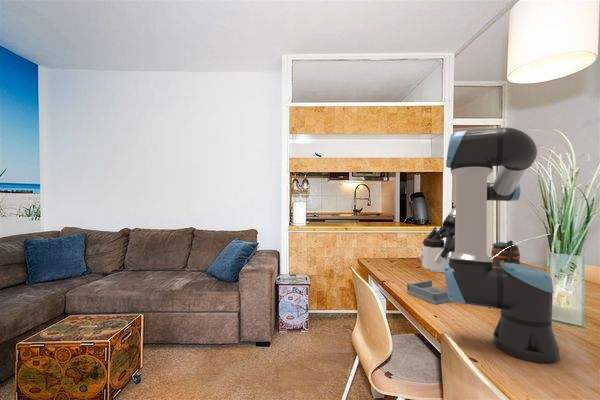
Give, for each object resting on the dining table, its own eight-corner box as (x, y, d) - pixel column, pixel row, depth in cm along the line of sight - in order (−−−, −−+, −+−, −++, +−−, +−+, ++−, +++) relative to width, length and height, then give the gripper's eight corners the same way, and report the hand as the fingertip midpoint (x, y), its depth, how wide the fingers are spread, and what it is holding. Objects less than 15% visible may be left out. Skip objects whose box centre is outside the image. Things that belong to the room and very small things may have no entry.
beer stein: (530, 282, 151) (531, 242, 151) (497, 279, 155) (498, 240, 155) (515, 272, 169) (516, 236, 169) (485, 270, 173) (486, 235, 173)
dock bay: (459, 299, 126) (459, 289, 126) (435, 304, 120) (435, 294, 120) (430, 288, 140) (430, 280, 140) (407, 293, 134) (407, 284, 134)
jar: (435, 271, 125) (436, 242, 124) (418, 267, 131) (418, 239, 131) (448, 268, 130) (448, 240, 129) (430, 264, 136) (431, 237, 136)
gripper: (481, 229, 127) (453, 271, 121) (440, 224, 145) (414, 261, 139) (473, 216, 124) (444, 259, 118) (432, 213, 143) (405, 250, 137)
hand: (428, 260), depth 129 cm, fingers closed on jar, 8 cm apart
